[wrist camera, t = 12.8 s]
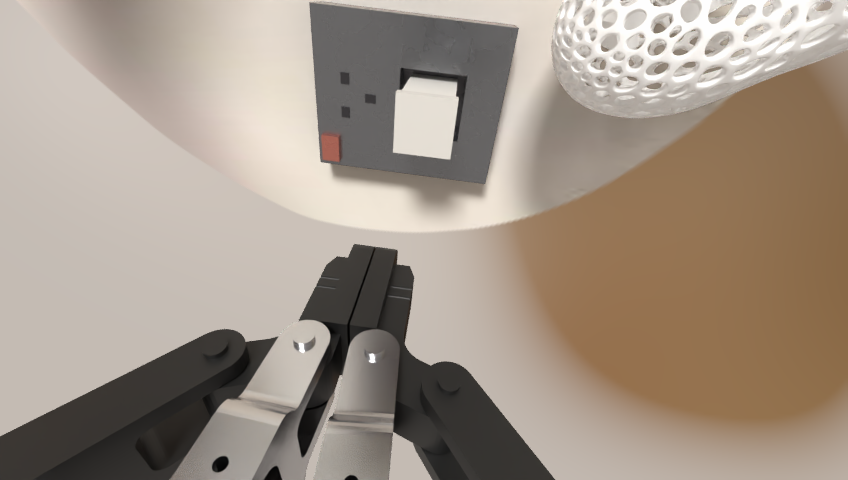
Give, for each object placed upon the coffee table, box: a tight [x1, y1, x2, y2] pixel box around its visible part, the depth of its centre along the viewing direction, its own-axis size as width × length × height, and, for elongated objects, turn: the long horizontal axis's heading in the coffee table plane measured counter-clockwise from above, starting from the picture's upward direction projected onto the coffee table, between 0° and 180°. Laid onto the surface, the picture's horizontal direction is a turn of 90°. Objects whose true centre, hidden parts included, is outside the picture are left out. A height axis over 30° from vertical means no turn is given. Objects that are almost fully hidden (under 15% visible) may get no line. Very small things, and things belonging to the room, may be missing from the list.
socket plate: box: [309, 1, 519, 184], centre depth 32 cm, size 16×13×3 cm
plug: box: [393, 73, 459, 160], centre depth 30 cm, size 4×4×8 cm
